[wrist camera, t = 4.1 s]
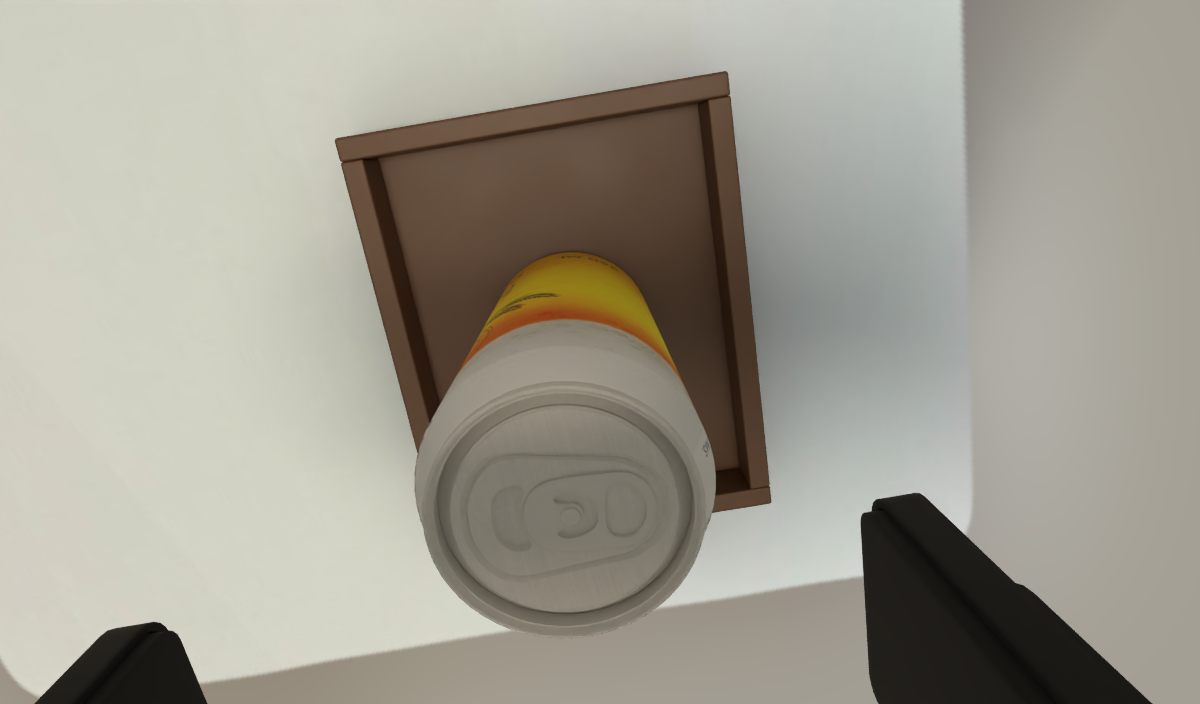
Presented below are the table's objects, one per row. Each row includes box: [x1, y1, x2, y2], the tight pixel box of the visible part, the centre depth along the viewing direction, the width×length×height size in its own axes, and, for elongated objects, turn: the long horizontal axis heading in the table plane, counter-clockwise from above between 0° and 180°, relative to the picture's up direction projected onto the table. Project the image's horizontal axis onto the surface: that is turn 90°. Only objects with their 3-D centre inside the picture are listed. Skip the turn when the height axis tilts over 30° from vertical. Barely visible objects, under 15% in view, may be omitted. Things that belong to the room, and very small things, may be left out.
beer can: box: [415, 252, 716, 638], centre depth 19 cm, size 6×6×15 cm
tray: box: [335, 71, 771, 513], centre depth 26 cm, size 17×14×2 cm
